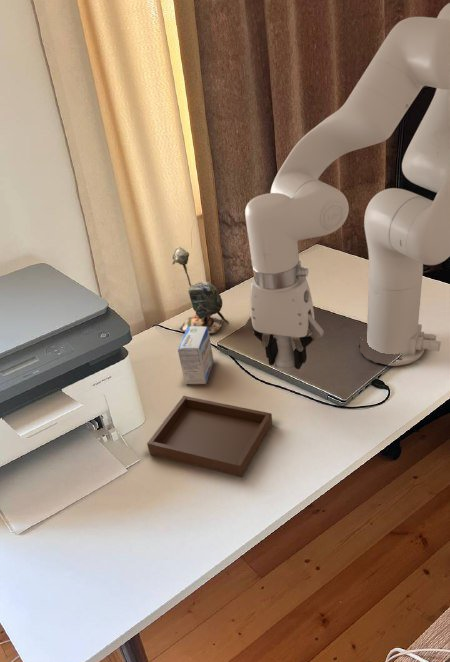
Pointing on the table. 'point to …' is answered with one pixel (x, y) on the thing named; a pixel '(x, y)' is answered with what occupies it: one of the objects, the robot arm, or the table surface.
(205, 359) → the medicine box
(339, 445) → the table surface
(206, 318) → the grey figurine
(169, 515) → the table surface
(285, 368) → the rook chess piece
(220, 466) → the tray
